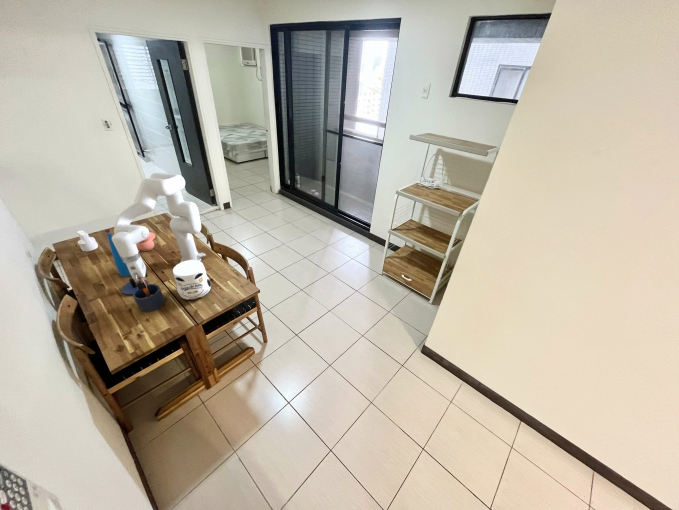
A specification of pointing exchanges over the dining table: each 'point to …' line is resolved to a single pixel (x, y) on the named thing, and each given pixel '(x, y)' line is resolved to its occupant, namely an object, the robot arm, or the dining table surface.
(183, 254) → the robot arm
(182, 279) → the milk container
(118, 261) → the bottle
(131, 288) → the tin lid
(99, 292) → the dining table surface
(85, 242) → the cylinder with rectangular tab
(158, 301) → the tin
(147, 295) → the brush
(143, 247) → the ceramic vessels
